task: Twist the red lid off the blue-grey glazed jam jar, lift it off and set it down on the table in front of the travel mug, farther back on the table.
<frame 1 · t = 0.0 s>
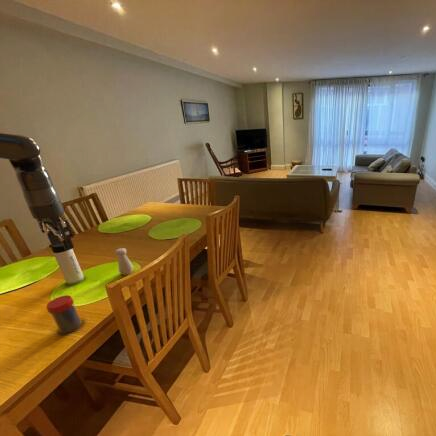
hand: (62, 246, 82), 29 cm above the table, tool pointing down, fingers open, 8 cm apart
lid: (59, 302, 82), point 11 cm above the table, screwed on, not yet turned
jar: (71, 326, 86), on the table
travel mug: (75, 281, 111), on the table
salt shaker: (127, 273, 117), on the table
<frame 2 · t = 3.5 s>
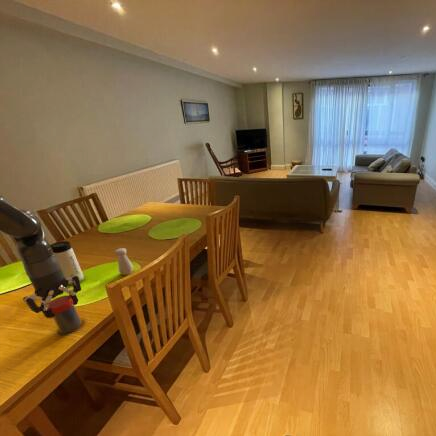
hand: (63, 310, 83), 8 cm above the table, tool pointing down, fingers closed on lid, 6 cm apart
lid: (59, 302, 82), point 11 cm above the table, screwed on, not yet turned, touching gripper
everything else where it was.
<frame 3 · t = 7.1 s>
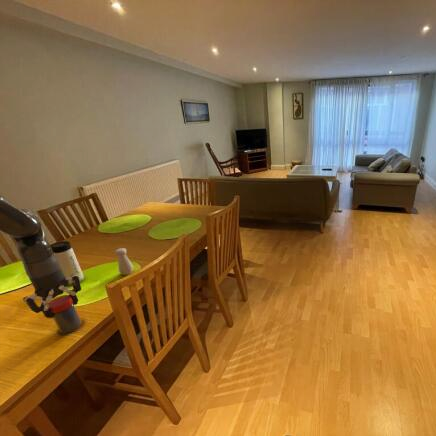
hand: (63, 310, 83), 8 cm above the table, tool pointing down, fingers closed on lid, 6 cm apart
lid: (59, 302, 82), point 11 cm above the table, turned 66° so far, risen 0.2 cm, still on its thread, touching gripper
everything else where it was.
when the fingers open (8 cm above the table, at t = 8.5 s): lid stays where it is, point 11 cm above the table.
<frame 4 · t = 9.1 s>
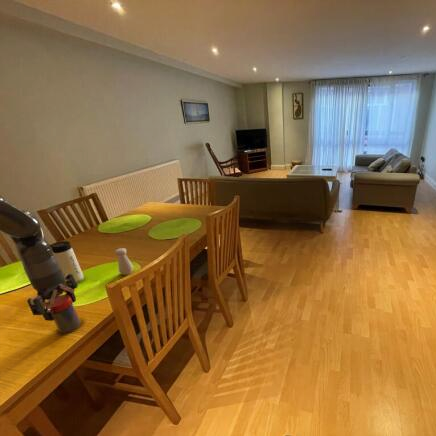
hand: (62, 310, 82), 8 cm above the table, tool pointing down, fingers open, 8 cm apart
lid: (58, 301, 82), point 11 cm above the table, turned 109° so far, risen 0.3 cm, still on its thread, touching gripper
everything else where it was.
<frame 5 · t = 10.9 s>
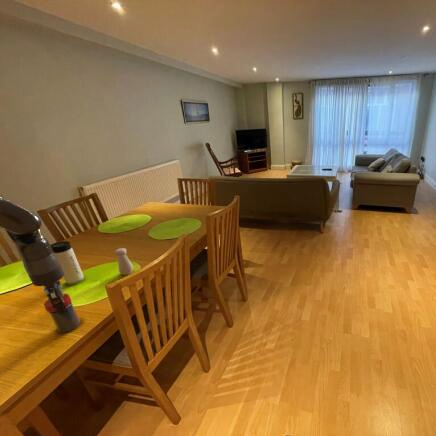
hand: (63, 307, 84), 8 cm above the table, tool pointing down, fingers closed on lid, 6 cm apart
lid: (57, 301, 82), point 12 cm above the table, off its thread, touching gripper
jar: (69, 326, 87), on the table, touching gripper
everything else where it was.
when the fingers open (1 cm above the table, at t = 21.8 s): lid drops 3 cm, point 2 cm above the table.
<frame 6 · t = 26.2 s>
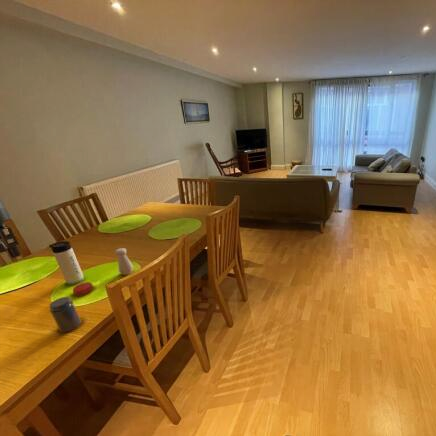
hand: (9, 254, 79), 28 cm above the table, tool pointing down, fingers open, 8 cm apart
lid: (82, 287, 104), point 2 cm above the table, off its thread
jar: (70, 325, 87), on the table
everything else where it was.
at the end: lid came off its thread; the gripper is holding nothing; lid inside the target area on the table beside the travel mug (0.5 cm from its centre), point 2.1 cm above the table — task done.
